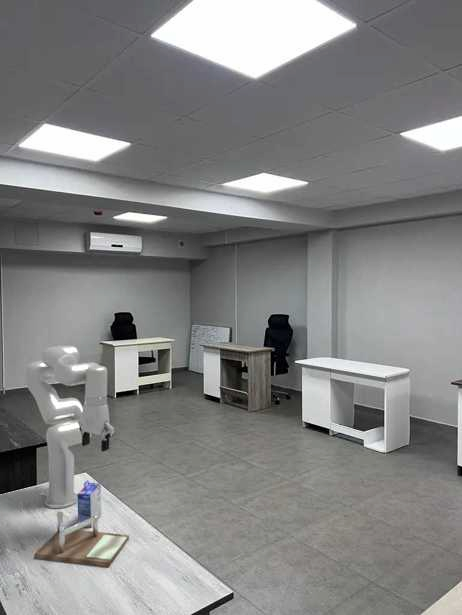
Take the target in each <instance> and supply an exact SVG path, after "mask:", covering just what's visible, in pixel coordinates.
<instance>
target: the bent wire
mask: <svg viewBox="0 0 462 615" xmlns="http://www.w3.org/2000/svg"><path fill="white" fill-rule="evenodd" d="M63 516H64V513H63V512H62V511H59V512H57V513H56V518H57V531H56V532H58V533H59V553H64V552H65V535H67V534H69V533H71V532H73V531H75V530H81V529H82V528H85V527H84V526H86V525H88V524H91V523H93V526H92V531H93V537H97V536H98V532H99V531H98V530H99V518H98V516H97V515H95V516H93V517H91V518H89V519H87V520H85V521H83V522H80V523H78V522H77V523H76V524H74V525H72V526H69V527H67V528H66V529H65V530H64V528H65V526H64V520H63Z"/></svg>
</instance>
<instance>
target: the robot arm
mask: <svg viewBox="0 0 462 615" xmlns="http://www.w3.org/2000/svg"><path fill="white" fill-rule="evenodd" d="M79 361H80V352H79V350H78V348H77V347H75V346H73V345H58V346H50V347H47V348H45V350H44V351H43V352H42V353H41V360H37V361H33V362H30V363H28V364H27V365H26V366H25V368H24V370H23V377H24V378H23V379H24V382H25V384H26V387H27V389H28V390H29V391H30V393H31V395H32V396H33V398H34V400H35V401H36V405H37V407H38V410H39V412H40V414H41V418H42V419H43V421H44V423H45V424H47V425H51V426H50V427H48V429H47V430H46V433H45V438H46V444H47V449H48V450H47V451H48V488H41V489H40V493H39V494H40V496H41V497H45V499H44V505H45V506H46V507H47V508H50V509H63V508H67V507H70V506H72V505H74V504H76V503H78V500H77V494H78V493H75V455H74V453H73V452H72V451H71V450H70V449H69V447H71V446H74V445H79V444H81V446H83V447H85V446H88V445H90V444H91V437H92V435H95V436H100V437H101V446H100V447H101V452H106V451H108V450H109V449H110V439H111V438H112V437H113V435H114V432H115V427H114V426H113V425H111V424H110V412H109V411H110V410H109V406H108V369H107V367H105V365H104V366H103V365H99V363H96V362H83V363H79ZM51 380H56V381H58V382H59V383H61V384H62V385H65V386H67V387H68V386H69V387H71V386H77V385H78V386H79V385H83V384H84V385H85V386H84V387H85V388H84V389H85V390H84V403H83V405H82V403H81V401H80V400H79V399H78V398H75V397H67V398H60V397H59V395H58V393H57V391H56V389H55V388H54V386H52V385H51V384H49V383H47V382H46V381H51Z"/></svg>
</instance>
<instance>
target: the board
mask: <svg viewBox="0 0 462 615" xmlns="http://www.w3.org/2000/svg"><path fill="white" fill-rule="evenodd" d="M65 529H67V528H65V527H64V530H65ZM129 540H130V535H129V534H122V533H121V534H119V533H111V532H110V533H109V532H103V531H98V536H97V537H93V530H84V529H83V530H82V529H77V530H75V531H73V532H71V533H69V534H67V535H65V552H64V553H59V533H58V532H57V531H56V532H55V533H54V534H52V536H51V537H50V538H49V539H48V540H47V541H46V542H45V543H44V544H43V545H42V546H41V547H39V548H38V550H36V552H34V559H38V560H47V561H54V562H63V563H72V564H79V565H80V564H81V565H88V566H94V567H96V566H98V567H103V568H104V567H106V568H110V566H112V564H113V562H114V561H115V560H116V558H117V557H118V556H119V554H120V552H122V549H123V548H124V547H125V546H126V544H128V543H127V542H129Z"/></svg>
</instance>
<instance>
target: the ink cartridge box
mask: <svg viewBox="0 0 462 615" xmlns="http://www.w3.org/2000/svg"><path fill="white" fill-rule="evenodd" d="M83 486H84V487H83V488H82V489H81V490H80V491H79V492H78V493H76V494H77V524H78V523H80V522H83V521H85V520H87V519H89V518H91V517H93V516H95V515H97V516H98V519H99V518H100V517H101V516H102V484H101V483H100V482H98V483H97V482H90V481H89V480H88V479H87V480H85V482H84V483H83ZM83 528H93V523H91V524H88V525H86V526H84V527H83Z"/></svg>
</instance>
